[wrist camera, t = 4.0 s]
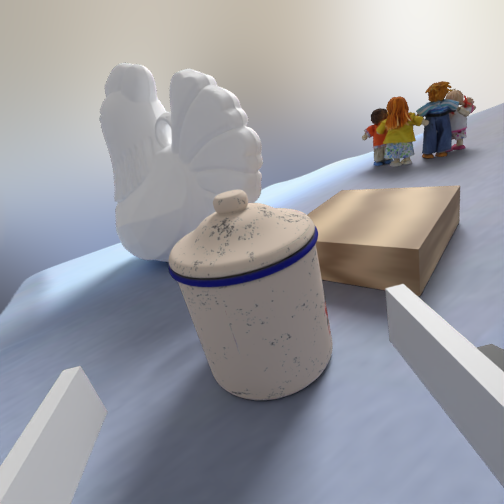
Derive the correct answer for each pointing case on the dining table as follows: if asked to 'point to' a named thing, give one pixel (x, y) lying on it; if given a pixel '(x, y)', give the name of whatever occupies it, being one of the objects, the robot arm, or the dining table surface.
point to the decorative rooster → (173, 155)
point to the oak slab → (385, 235)
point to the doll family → (435, 125)
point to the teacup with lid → (255, 296)
